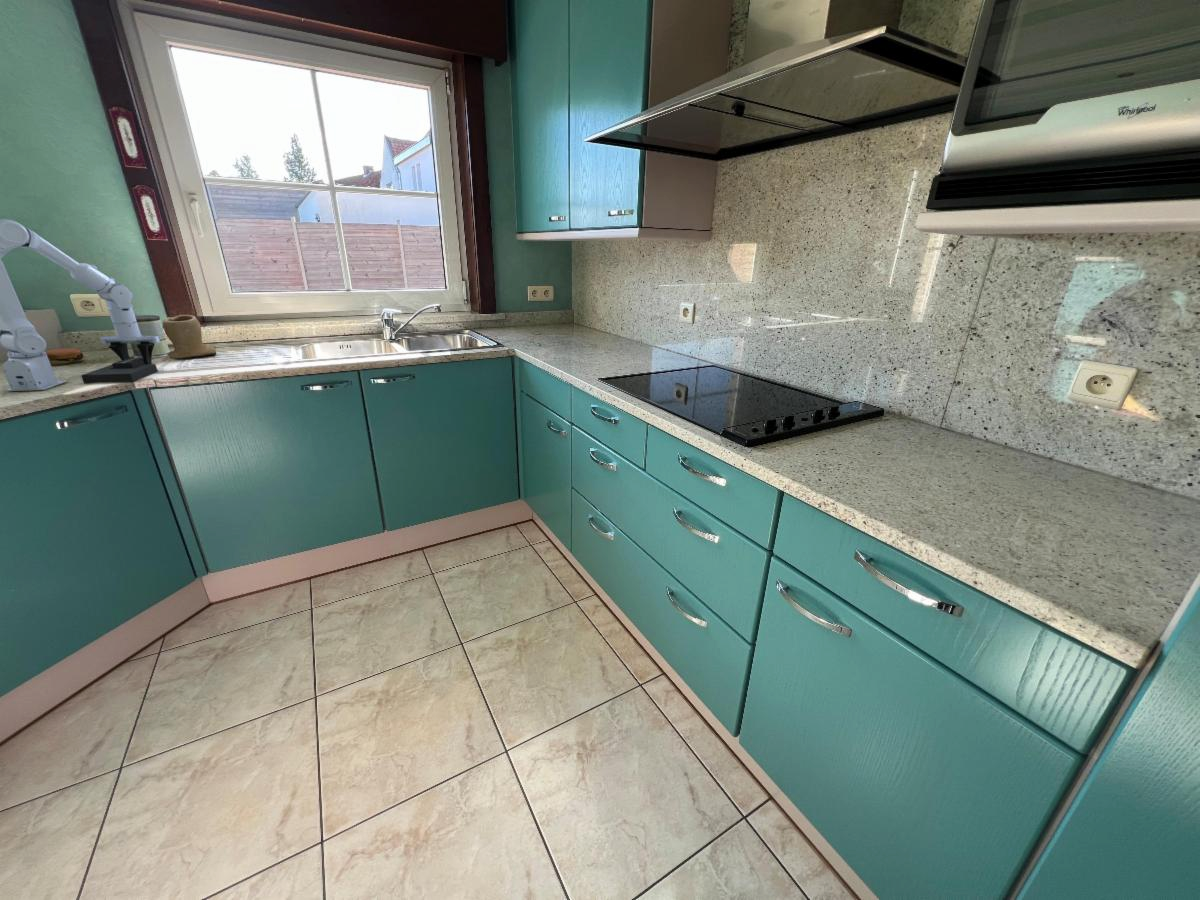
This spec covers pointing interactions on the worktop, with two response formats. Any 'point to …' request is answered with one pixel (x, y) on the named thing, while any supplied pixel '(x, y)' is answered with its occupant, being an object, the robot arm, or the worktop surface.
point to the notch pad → (119, 374)
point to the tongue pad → (129, 363)
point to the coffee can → (151, 327)
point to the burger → (64, 356)
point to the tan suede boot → (186, 337)
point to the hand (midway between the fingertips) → (139, 365)
